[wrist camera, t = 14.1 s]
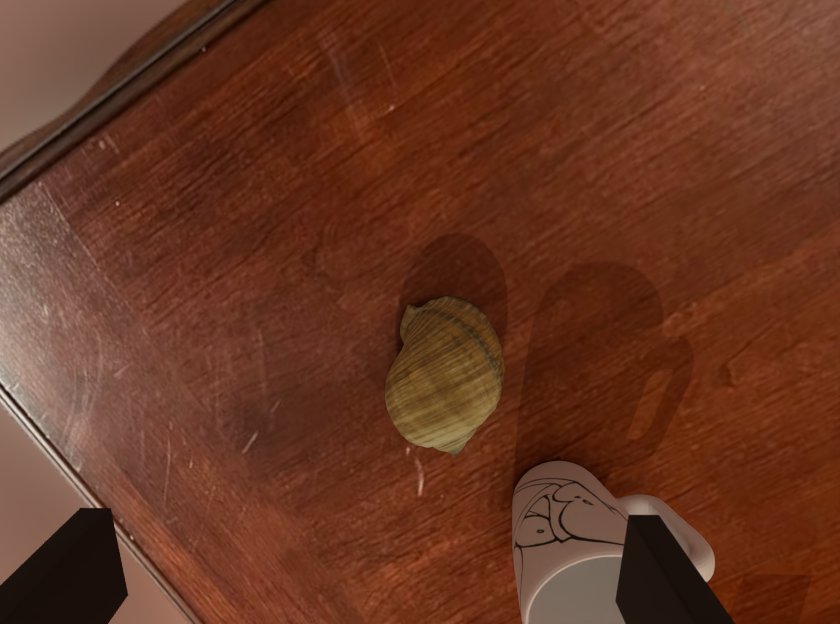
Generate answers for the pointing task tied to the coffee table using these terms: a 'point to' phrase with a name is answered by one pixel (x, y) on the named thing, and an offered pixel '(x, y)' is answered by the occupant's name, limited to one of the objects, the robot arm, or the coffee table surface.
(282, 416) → the coffee table surface
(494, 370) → the seashell
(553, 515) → the mug
